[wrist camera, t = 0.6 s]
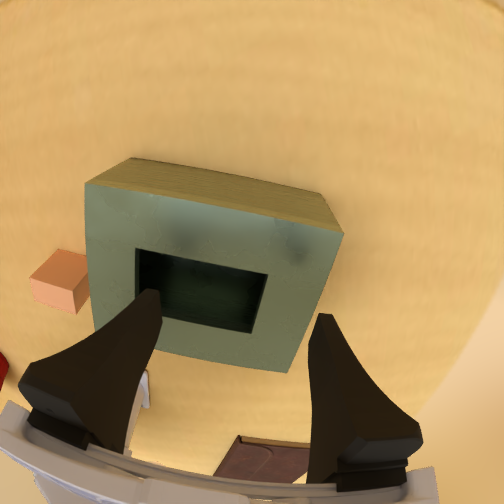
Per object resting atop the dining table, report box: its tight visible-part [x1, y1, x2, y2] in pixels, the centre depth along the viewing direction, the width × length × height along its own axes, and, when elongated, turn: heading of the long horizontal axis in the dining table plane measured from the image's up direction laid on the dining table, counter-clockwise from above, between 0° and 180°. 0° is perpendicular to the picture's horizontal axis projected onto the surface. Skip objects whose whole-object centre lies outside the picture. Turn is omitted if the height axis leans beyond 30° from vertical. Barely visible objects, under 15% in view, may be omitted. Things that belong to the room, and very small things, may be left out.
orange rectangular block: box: [29, 249, 90, 315], centre depth 23 cm, size 4×2×5 cm, turn 78°
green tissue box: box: [85, 158, 344, 373], centre depth 21 cm, size 14×11×7 cm
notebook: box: [213, 435, 310, 484], centre depth 42 cm, size 15×20×2 cm
